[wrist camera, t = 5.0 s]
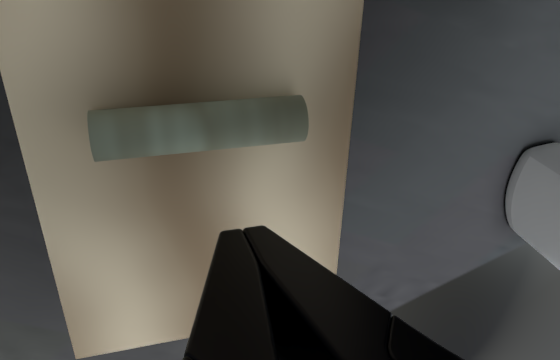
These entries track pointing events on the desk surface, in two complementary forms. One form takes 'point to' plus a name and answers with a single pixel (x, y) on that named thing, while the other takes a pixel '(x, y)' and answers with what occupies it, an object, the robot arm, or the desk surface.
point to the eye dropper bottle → (537, 200)
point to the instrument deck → (175, 144)
